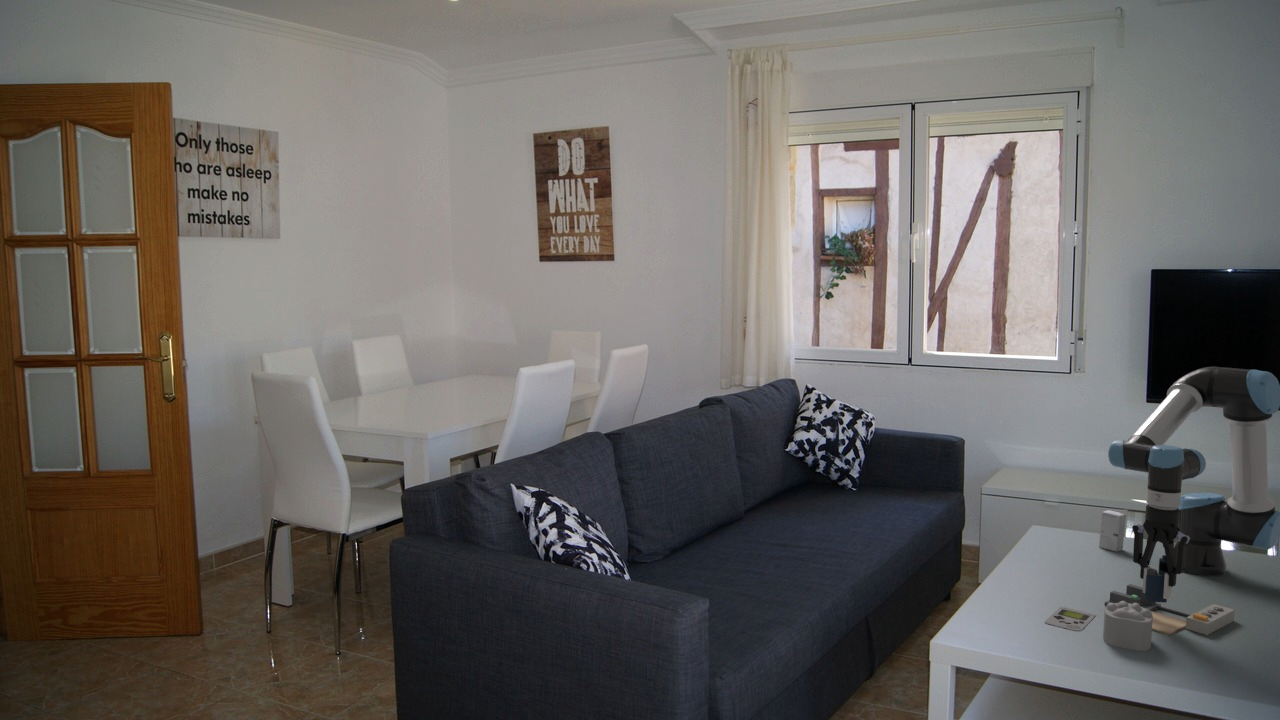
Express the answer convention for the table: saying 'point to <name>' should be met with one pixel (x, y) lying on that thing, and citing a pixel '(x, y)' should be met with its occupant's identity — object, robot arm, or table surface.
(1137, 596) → the frame
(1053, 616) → the handheld gaming device
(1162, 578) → the vaping device
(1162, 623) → the mat
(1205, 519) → the robot arm
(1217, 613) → the power strip
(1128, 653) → the table surface
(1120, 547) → the skincare box
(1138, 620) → the lumpy-topped squat cylinder
